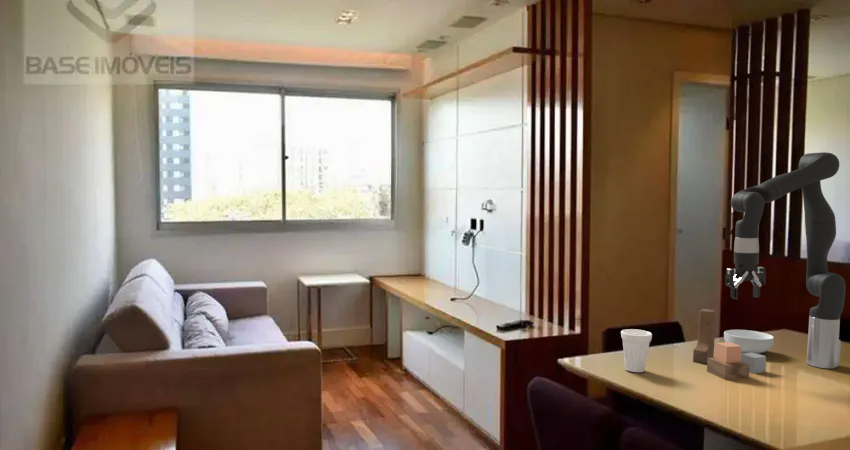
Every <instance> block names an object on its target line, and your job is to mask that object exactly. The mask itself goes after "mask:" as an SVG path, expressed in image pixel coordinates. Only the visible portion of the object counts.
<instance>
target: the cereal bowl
mask: <svg viewBox="0 0 850 450" xmlns="http://www.w3.org/2000/svg"><path fill="white" fill-rule="evenodd" d="M723 339H724V342H731V343H734V344H737V345H739V346H741V354H744V353H750V352H752V353H756V354H759V355H761V353H765V352H767V351H769V350H770V349H772V348H773V346H774V343H775V342H774V341H775V337H774V336H773V335H771V334H769V333H766V332H761V331H756V330H747V329H729V330H725V331H724V332H723Z"/></svg>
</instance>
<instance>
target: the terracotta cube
mask: <svg viewBox="0 0 850 450" xmlns="http://www.w3.org/2000/svg"><path fill="white" fill-rule="evenodd" d="M741 354H742V353H741V346H739V345H737V344H734V343H731V342H725V341H724V342H715V350H714V358H715V359H717V360H719V361H722V362H724V363H741Z"/></svg>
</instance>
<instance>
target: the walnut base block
mask: <svg viewBox="0 0 850 450" xmlns="http://www.w3.org/2000/svg"><path fill="white" fill-rule="evenodd" d="M706 372H707V373H709V374H711V375H714V376H716V377H718V378H720V379H723V380H741V379H742V380H743V379H750V378H749V377H750V376H749V375H750V372H749V364H748V363H745V362H743V361H741V363H724V362H722V361H719V360H717V359H715V357H714V358H708V359H707V363H706Z"/></svg>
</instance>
